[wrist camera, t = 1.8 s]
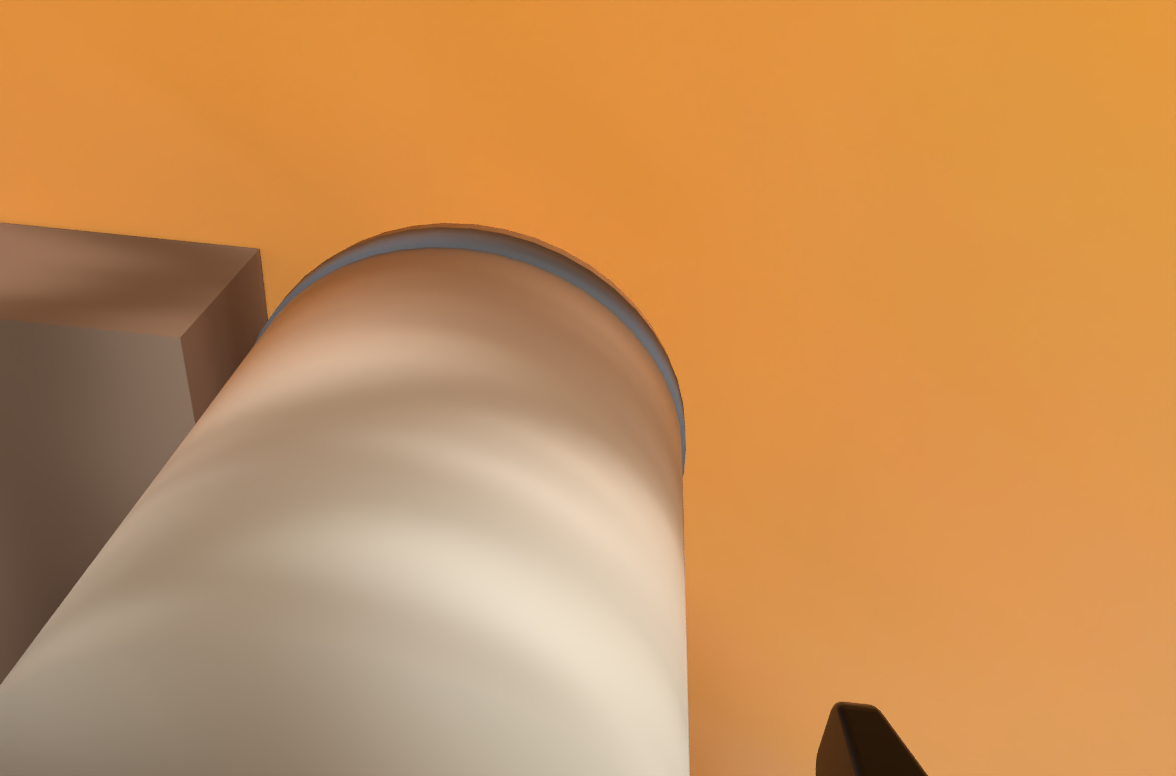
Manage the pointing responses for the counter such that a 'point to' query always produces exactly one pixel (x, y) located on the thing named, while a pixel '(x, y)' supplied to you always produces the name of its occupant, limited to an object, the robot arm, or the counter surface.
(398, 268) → the beech leg
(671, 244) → the counter surface
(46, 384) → the socket board
